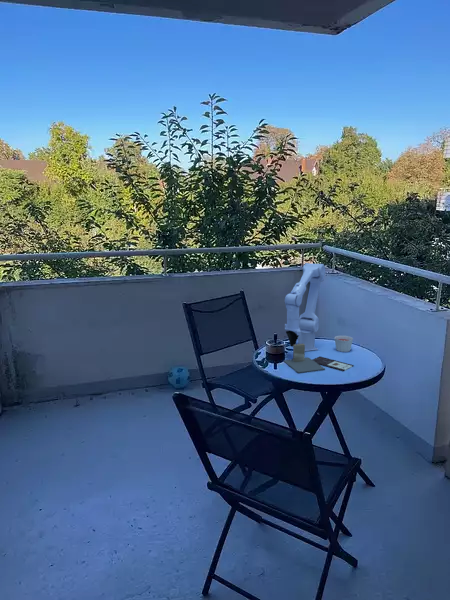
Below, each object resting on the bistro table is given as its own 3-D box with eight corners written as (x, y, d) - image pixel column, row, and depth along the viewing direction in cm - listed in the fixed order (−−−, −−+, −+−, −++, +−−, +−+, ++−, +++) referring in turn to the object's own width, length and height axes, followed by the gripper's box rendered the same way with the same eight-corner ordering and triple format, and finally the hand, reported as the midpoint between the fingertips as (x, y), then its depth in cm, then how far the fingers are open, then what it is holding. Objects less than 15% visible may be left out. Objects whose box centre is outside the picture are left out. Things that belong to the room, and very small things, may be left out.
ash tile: (293, 360, 196) (293, 344, 195) (302, 359, 198) (303, 343, 196) (294, 362, 195) (295, 345, 193) (304, 360, 196) (304, 344, 194)
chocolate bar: (319, 356, 202) (353, 365, 190) (319, 358, 203) (353, 367, 190) (309, 360, 196) (343, 370, 184) (309, 362, 196) (343, 372, 184)
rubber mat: (283, 361, 197) (283, 360, 197) (308, 358, 201) (308, 357, 201) (298, 373, 182) (298, 372, 182) (324, 370, 186) (325, 368, 186)
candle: (339, 346, 219) (339, 334, 217) (355, 349, 213) (356, 337, 212) (331, 350, 212) (331, 338, 211) (347, 354, 206) (348, 341, 205)
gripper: (279, 315, 205) (279, 342, 208) (291, 322, 191) (291, 351, 194) (292, 314, 207) (292, 341, 209) (305, 321, 193) (305, 349, 196)
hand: (292, 345), depth 202 cm, fingers closed
